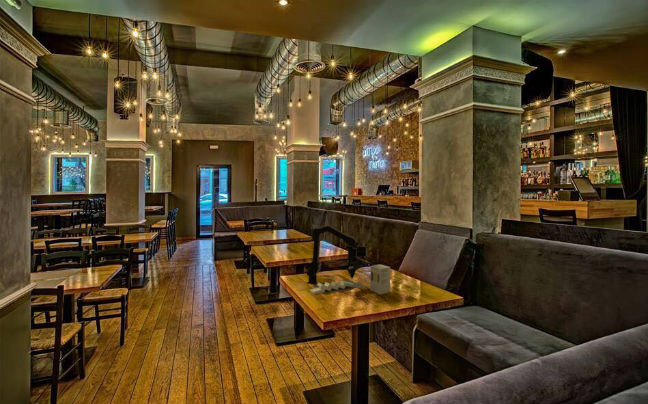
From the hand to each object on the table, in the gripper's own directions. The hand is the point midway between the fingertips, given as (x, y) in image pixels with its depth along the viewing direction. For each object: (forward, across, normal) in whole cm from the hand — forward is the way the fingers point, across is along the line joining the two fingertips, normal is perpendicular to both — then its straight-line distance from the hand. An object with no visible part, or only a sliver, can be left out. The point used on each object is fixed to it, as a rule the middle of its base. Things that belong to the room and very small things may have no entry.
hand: (352, 278), depth 236 cm
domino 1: (+4, -22, 0) cm, 23 cm away
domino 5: (+5, 0, 0) cm, 5 cm away
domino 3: (+5, -12, 0) cm, 13 cm away
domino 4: (+5, -7, 0) cm, 9 cm away
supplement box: (+7, +11, -17) cm, 21 cm away
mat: (+6, -8, +4) cm, 11 cm away
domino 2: (+5, -18, 0) cm, 19 cm away
